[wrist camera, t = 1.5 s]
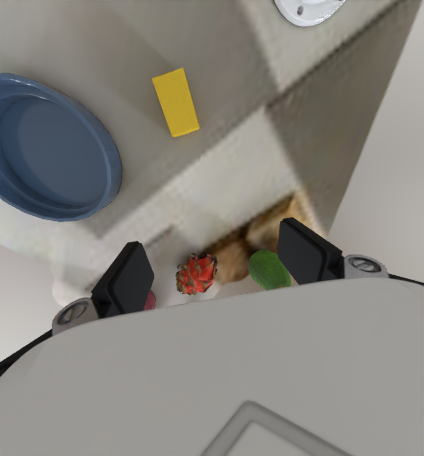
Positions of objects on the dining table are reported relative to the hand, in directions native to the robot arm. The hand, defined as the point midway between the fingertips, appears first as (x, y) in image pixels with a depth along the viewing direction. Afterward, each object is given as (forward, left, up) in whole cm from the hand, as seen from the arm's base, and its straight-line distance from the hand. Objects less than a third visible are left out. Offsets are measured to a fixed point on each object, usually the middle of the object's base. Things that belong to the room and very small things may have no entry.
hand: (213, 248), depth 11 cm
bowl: (+1, -24, -23) cm, 33 cm away
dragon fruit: (+19, +3, -23) cm, 30 cm away
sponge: (-11, -6, -23) cm, 26 cm away
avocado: (+14, +18, -23) cm, 32 cm away
